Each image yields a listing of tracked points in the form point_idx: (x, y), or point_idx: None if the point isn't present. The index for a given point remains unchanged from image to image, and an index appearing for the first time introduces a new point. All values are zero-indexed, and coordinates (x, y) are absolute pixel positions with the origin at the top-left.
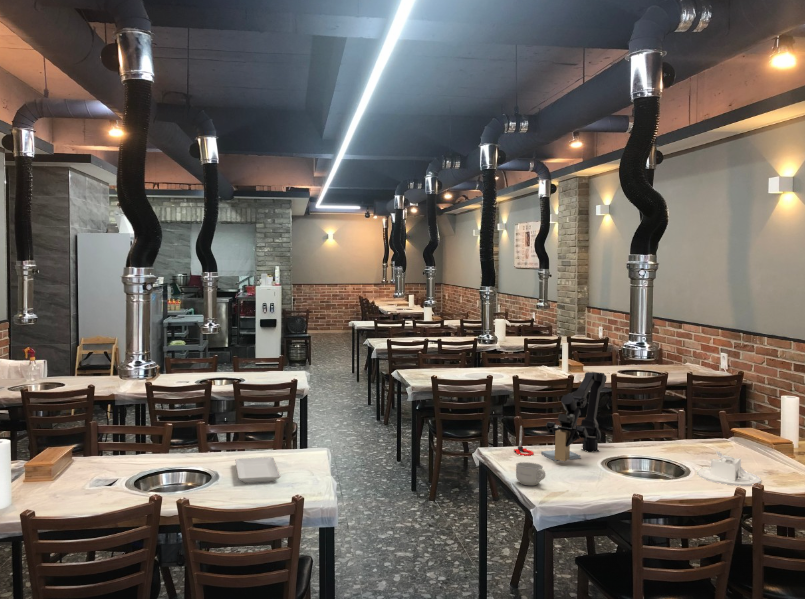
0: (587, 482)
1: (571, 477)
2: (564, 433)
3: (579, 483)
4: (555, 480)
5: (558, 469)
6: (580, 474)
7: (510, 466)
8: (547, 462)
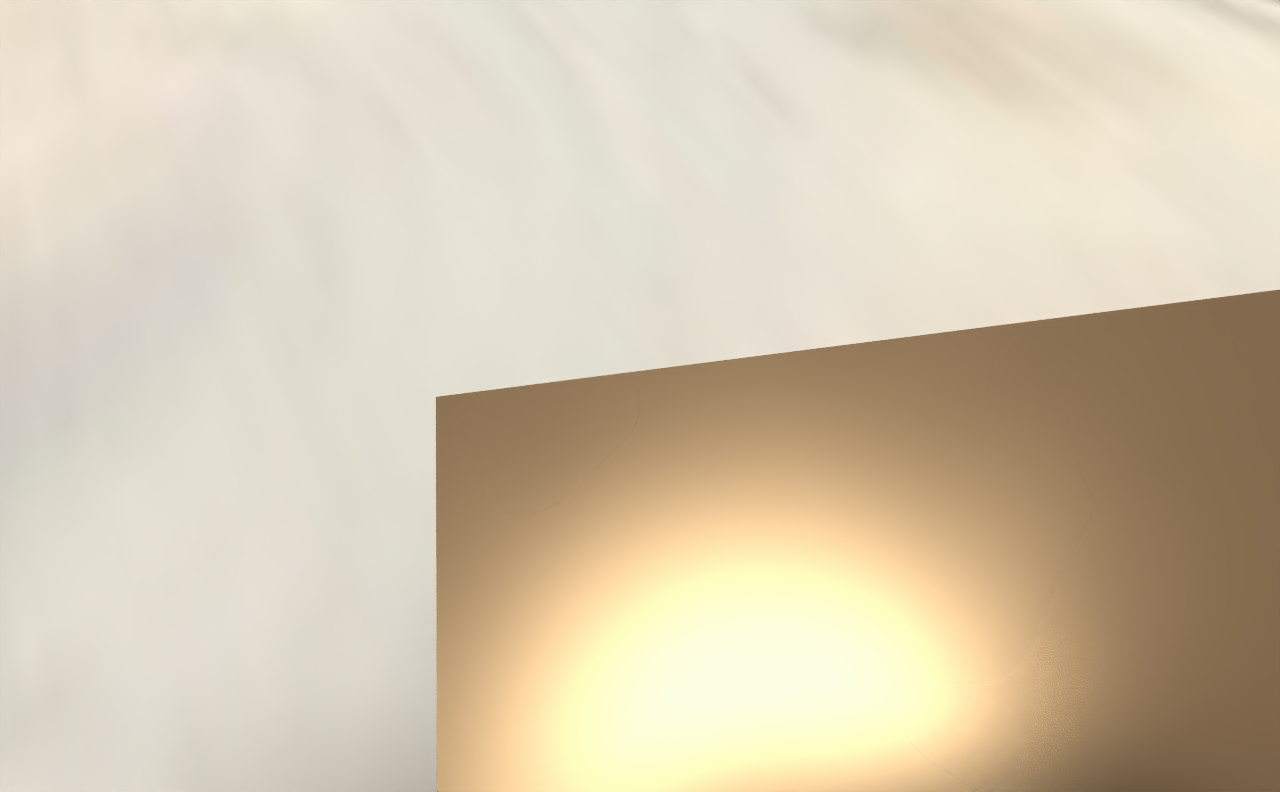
0: (7, 179)
1: (257, 212)
2: (573, 414)
3: (91, 91)
4: (375, 8)
5: None
6: (191, 423)
7: (1141, 68)
8: None
